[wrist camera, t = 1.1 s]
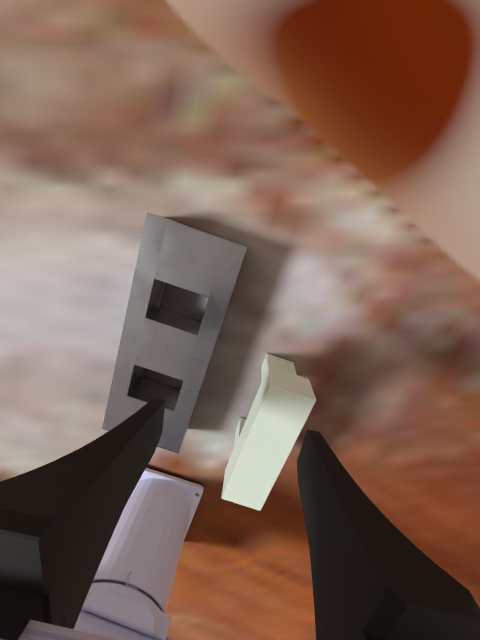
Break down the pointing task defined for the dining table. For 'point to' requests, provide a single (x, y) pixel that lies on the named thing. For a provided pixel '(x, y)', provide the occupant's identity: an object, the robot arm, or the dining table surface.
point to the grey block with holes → (172, 323)
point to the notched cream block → (267, 433)
